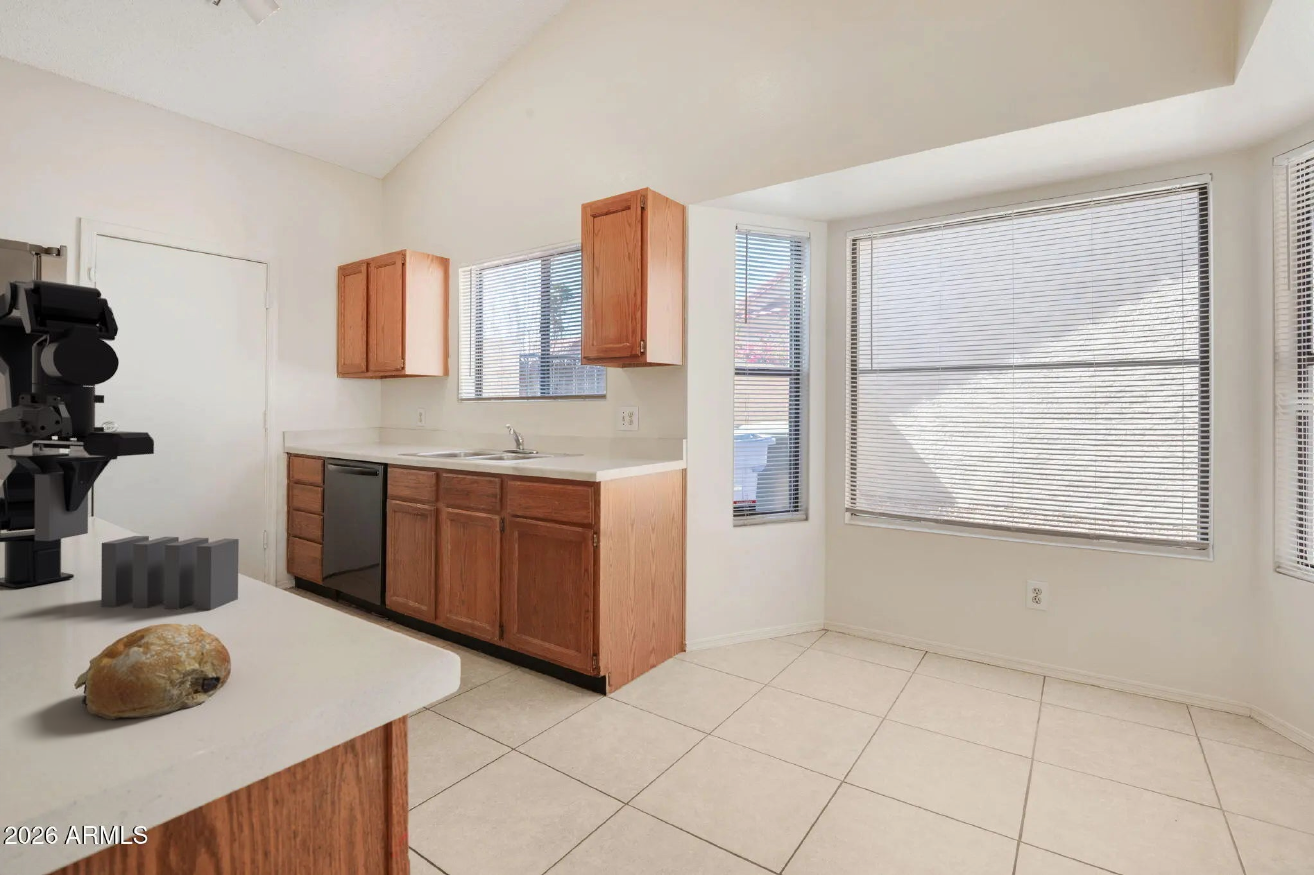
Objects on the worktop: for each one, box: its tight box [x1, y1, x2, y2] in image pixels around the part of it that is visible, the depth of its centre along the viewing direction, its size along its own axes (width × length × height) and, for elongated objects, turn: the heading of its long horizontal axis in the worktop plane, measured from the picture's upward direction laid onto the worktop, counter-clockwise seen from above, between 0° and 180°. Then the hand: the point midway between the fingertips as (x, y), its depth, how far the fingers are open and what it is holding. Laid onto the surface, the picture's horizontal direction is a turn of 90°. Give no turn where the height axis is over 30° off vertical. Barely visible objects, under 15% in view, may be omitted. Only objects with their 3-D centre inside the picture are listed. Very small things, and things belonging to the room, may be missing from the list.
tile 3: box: [132, 536, 180, 609], centre depth 81 cm, size 2×5×8 cm, turn 179°
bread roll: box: [74, 623, 232, 721], centre depth 55 cm, size 10×10×8 cm
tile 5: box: [195, 537, 240, 611], centre depth 81 cm, size 2×5×8 cm, turn 179°
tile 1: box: [34, 472, 89, 541], centre depth 79 cm, size 2×5×8 cm, turn 178°
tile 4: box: [164, 537, 210, 610], centre depth 81 cm, size 2×5×8 cm, turn 179°
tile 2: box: [100, 535, 150, 608], centre depth 81 cm, size 2×5×8 cm, turn 179°
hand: (63, 510), depth 79 cm, fingers closed on tile 1, 2 cm apart
